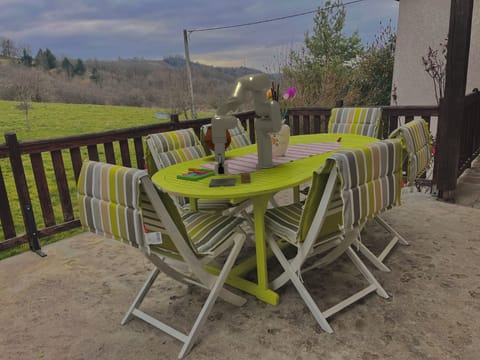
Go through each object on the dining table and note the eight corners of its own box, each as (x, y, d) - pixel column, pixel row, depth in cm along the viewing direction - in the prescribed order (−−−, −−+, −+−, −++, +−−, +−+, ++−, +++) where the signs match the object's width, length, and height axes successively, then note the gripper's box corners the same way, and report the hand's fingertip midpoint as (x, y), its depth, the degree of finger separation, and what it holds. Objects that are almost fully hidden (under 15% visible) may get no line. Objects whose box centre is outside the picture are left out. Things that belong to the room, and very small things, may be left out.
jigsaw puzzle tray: (221, 174, 232) (193, 170, 247) (221, 170, 231) (193, 167, 247) (195, 182, 215) (167, 177, 230) (194, 178, 214) (166, 174, 230)
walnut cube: (241, 181, 209) (241, 172, 207) (250, 181, 208) (250, 172, 207) (241, 183, 204) (240, 174, 202) (250, 183, 203) (250, 174, 202)
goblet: (202, 160, 278) (199, 126, 271) (224, 156, 288) (221, 124, 282) (214, 163, 262) (211, 128, 256) (237, 159, 272) (235, 125, 266)
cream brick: (215, 172, 208) (215, 164, 206) (228, 172, 207) (227, 163, 206) (215, 174, 203) (214, 165, 202) (227, 174, 202) (227, 165, 201)
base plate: (211, 180, 214) (211, 179, 213) (235, 179, 213) (235, 177, 213) (208, 187, 200) (208, 185, 200) (234, 185, 199) (234, 184, 199)
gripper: (214, 138, 209) (216, 169, 213) (210, 142, 193) (213, 176, 197) (227, 137, 209) (229, 169, 213) (225, 142, 192) (227, 176, 197)
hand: (221, 172), depth 205 cm, fingers closed on cream brick, 5 cm apart
